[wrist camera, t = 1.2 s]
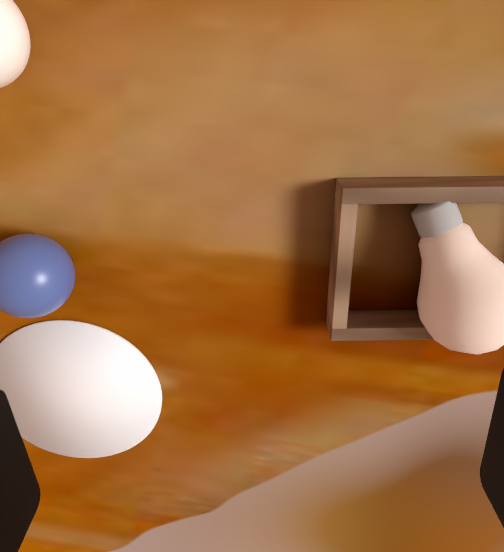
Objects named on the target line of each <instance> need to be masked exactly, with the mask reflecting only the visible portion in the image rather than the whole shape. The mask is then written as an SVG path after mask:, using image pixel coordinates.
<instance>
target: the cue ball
mask: <svg viewBox="0 0 504 552" xmlns="http://www.w3.org/2000/svg"><path fill="white" fill-rule="evenodd" d="M29 55H30V34H29V30H28V27H27V24H26V21H25V19H24V17H23V15H22V13H21V11H20V10H19V8H18V7H17V5H16V4H15V3H14V1H13V0H0V88H2V87H4V86H7V85H8V84H10V83H12V82H13V81H14V80H15V79H16V78H18V77H19V75H20V74H21V73H22V72H23V70H24V68H25V67H26V64H27V62H28V59H29Z"/></svg>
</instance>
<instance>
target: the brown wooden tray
mask: <svg viewBox="0 0 504 552" xmlns="http://www.w3.org/2000/svg"><path fill="white" fill-rule="evenodd" d="M446 201H450V202H451V203H504V176H470V177H381V178H336V186H335V201H334V215H333V230H332V244H331V258H330V273H329V287H328V302H327V316H326V324H327V327H328V331H329V334H330V338H331V341H352V340H434V339H433V337H432V336H431V335H430V334H429V332H428V331H427V329H426V328H425V326H424V325H423V323H422V322H421V320H420V318H419V312H418V310H348V308H349V297H350V286H351V275H352V264H353V253H354V243H355V232H356V221H357V210H358V204H417V203H441V202H446Z"/></svg>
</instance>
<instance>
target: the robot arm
mask: <svg viewBox="0 0 504 552" xmlns="http://www.w3.org/2000/svg"><path fill="white" fill-rule="evenodd" d="M480 478H481V483H482V486H483V489H484V491H485V493H486V494H487V497H488V499H489V500H490V502H491V504H492V506H493V508H494V510H495V512H496V514H497V516H498V518H499V519H500V521H501V523H502V525H503V527H504V369H503V371H502V374H501V379H500V383H499V388H498V392H497V397H496V401H495V405H494V410H493V414H492V419H491V423H490V427H489V432H488V436H487V441H486V445H485V450H484V454H483V459H482V463H481V467H480ZM39 501H40V488H39V484H38V482H37V479H36V476H35V473H34V471H33V468H32V465H31V462H30V460H29V457H28V454H27V451H26V448H25V446H24V443H23V440H22V437H21V435H20V432H19V429H18V426H17V424H16V421H15V418H14V415H13V413H12V410H11V407H10V404H9V401H8V399H7V396H6V394H5V392H4V391H3V390H0V552H18V550H19V548H20V546H21V543H22V541H23V539H24V537H25V535H26V532H27V530H28V528H29V526H30V524H31V521H32V519H33V517H34V515H35V513H36V510H37V508H38V505H39Z"/></svg>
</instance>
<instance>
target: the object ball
mask: <svg viewBox="0 0 504 552" xmlns="http://www.w3.org/2000/svg"><path fill="white" fill-rule="evenodd" d="M74 283H75V268H74V264H73V262H72V259H71V257H70V255H69V254H68V252H67V251H66V250H65V249H64V248H63V247H62V246H61V245H60V244H59V243H57V242H56V241H54V240H53V239H51V238H48V237H46V236H43V235H39V234H31V233H27V234H18V235H14V236H11V237H8V238H6V239H4V240H2V241H1V242H0V310H2V311H3V312H5V313H7V314H9V315H12V316H16V317H21V318H36V317H41V316H45V315H47V314H50V313H52V312H54V311H55V310H57V309H58V308H59V307H61V306H62V305H63V304H64V303H65V302H66V300H67V299H68V298H69V296H70V294H71V292H72V290H73V287H74Z"/></svg>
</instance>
